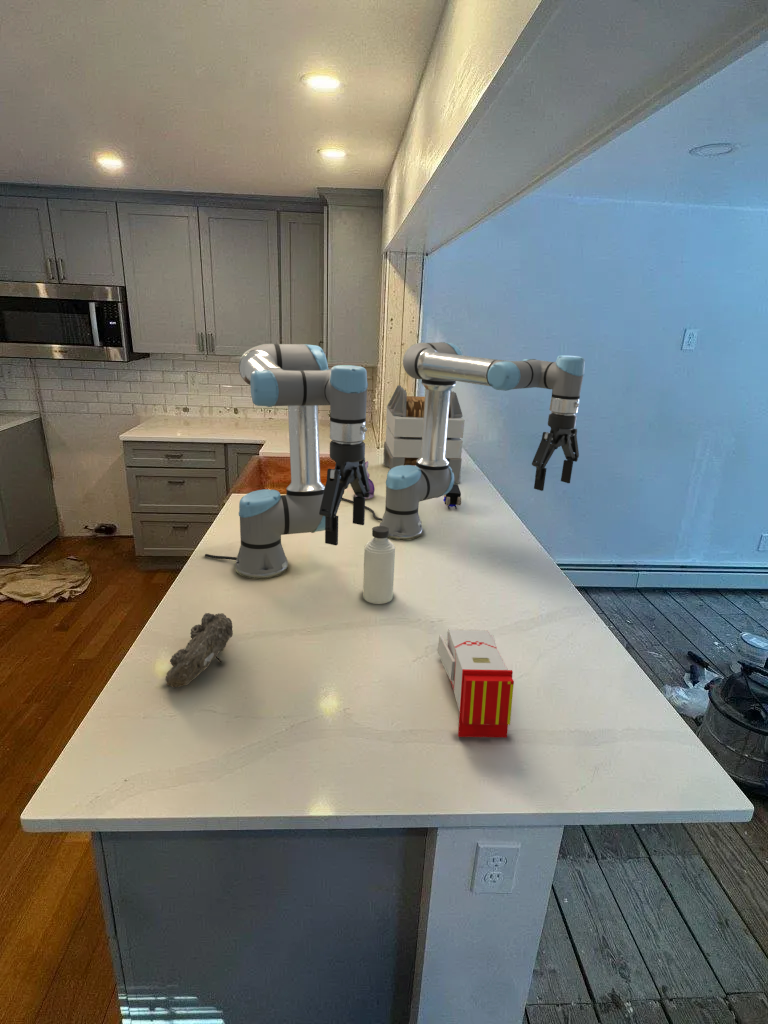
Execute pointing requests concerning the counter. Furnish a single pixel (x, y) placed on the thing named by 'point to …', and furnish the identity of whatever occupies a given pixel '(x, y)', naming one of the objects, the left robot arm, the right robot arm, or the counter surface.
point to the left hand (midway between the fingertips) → (345, 533)
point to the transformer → (419, 431)
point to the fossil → (200, 649)
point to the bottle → (378, 571)
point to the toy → (478, 682)
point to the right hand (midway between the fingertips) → (552, 485)
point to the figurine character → (453, 497)
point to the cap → (380, 532)
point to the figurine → (369, 483)
